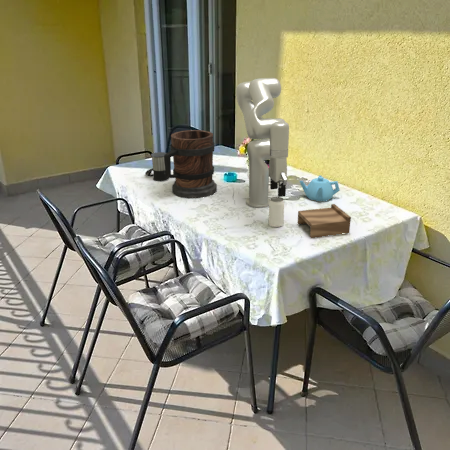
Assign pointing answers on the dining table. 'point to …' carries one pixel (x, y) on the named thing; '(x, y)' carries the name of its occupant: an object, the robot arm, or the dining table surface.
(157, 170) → the milk frother
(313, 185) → the teapot
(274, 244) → the dining table surface
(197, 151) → the wooden tankard
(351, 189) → the dining table surface
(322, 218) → the shelf
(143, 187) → the dining table surface
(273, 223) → the can
